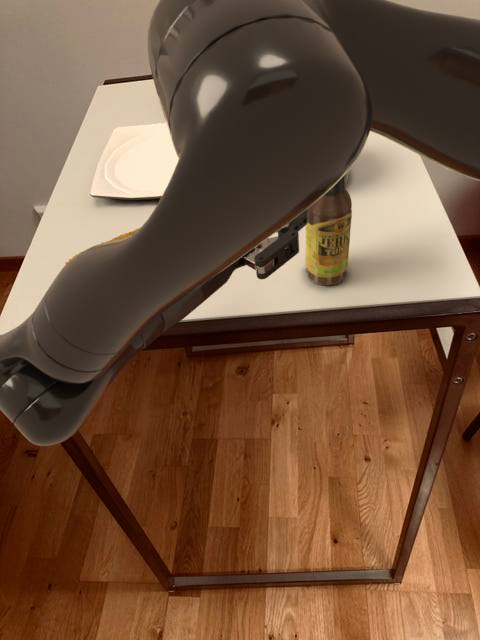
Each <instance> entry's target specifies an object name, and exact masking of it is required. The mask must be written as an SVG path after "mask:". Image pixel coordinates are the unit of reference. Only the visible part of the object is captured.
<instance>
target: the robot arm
mask: <svg viewBox="0 0 480 640" xmlns="http://www.w3.org/2000/svg"><path fill="white" fill-rule="evenodd" d="M147 54H148V62H149V67H150V73H151V76H152V80H153V84H154V88H155V90H156V94H157V96H158V100H159V104H160V108H161V110H162V113H163V116H164V120H165V123H167V126H168V130H169V133H170V136H171V139H172V142H173V146H174V149H175V151H176V154H177V156H178V158H179V160H178V163H177V165H176V168H175V170H174V172H173V175H172V177H171V179H170V181H169V183H168V185H167V187H166V189H165V191H164V193H163V195H162V197H161V198H159V201H158V203H157V204H156V206H155V207H154V209H153V211H152V213H151V214H150V216H149V217H148V219H147V220H146V221H145V222H144V223H143V225H142V226H140V227H141V228H140V227H139V228H140V229H139V228H138V229H139V230H138V231H137V232H135V233H134V234H132V235H130V236H128V237H124V238H121V239H117V240H112V239H111V240H112V241H109V240H107V241H108V242H107V241H104V242H105V243H102V242H101V243H97V244H98V245H97V244H95V245H92V246H93V247H92V246H91V247H89V248H87V249H84V250H83V251H80V252H79V253H80V254H79V253H77V254H78V255H77V254H76V255H77V256H76V257H74V256H73V257H74V258H73V257H72V258H73V259H72V258H71V259H72V260H71V261H70V262H69V263H68V264H67V265H66V264H65V265H66V266H65V265H64V266H65V267H64V266H63V267H64V268H63V267H62V268H61V270H60V271H59V273H58V274H57V275H56V277H55V278H54V279H53V281H52V283H51V284H50V285H49V287H48V289H47V290H46V292H45V293H44V295H43V296H42V298H41V300H40V301H39V303H38V305H37V306H36V307H35V309H34V311H33V312H32V313H31V314H30V315H29V316H28V317H27V318H26V319H25V320H24V321H23V322H22V323H21V324H19V325H18V326H16V327H14V328H12V329H11V330H9V331H7V332H5V333H4V334H2V335H0V411H1V412H2V413H3V414H4V415H5V417H6V418H7V419H8V420H9V421H10V422H11V423H12V424H13V425H14V427H15V428H16V429H17V430H18V431H19V432H20V433H21V435H23V437H24V438H26V440H27V441H29V442H30V443H32V444H33V445H36V446H39V447H52V446H56V445H59V444H62V443H65V442H66V441H67V440H69V439H71V438H72V437H73V436H74V435H76V434H77V433H78V432H79V431H80V429H81V428H82V427H83V426H84V425H85V423H86V422H87V421H88V420H89V418H90V416H91V415H92V414H93V411H94V410H95V409H96V407H97V405H98V404H99V403H100V401H101V399H102V398H103V396H104V395H105V394H106V392H107V390H108V389H109V387H110V386H111V385H112V383H113V382H114V381H115V379H116V378H118V377H117V376H119V374H120V373H121V372H122V371H123V370H124V368H125V367H126V366H128V365H129V363H130V362H132V360H133V359H134V358H135V357H137V355H138V354H140V353H141V352H142V351H143V350H144V349H146V348H147V347H149V345H150V344H151V343H152V342H154V341H155V340H156V339H158V338H159V337H160V336H161V335H162V334H163V333H164V332H166V331H167V330H169V329H170V328H172V327H173V326H175V325H177V324H179V323H180V322H182V321H183V320H184V319H185V318H186V317H188V315H190V314H191V313H192V312H193V311H195V310H196V309H197V308H198V307H200V306H201V305H202V304H203V303H204V302H205V301H206V300H208V299H209V298H210V297H211V296H212V295H214V294H215V293H216V292H217V291H219V290H220V289H221V288H222V287H223V286H225V284H227V283H228V281H229V280H230V278H231V277H232V275H233V274H234V272H235V271H236V270H237V269H239V268H242V267H246V266H247V267H249V268H251V269H252V270H254V271H255V274H256V278H257V279H259V280H266V279H268V278H269V277H270V276H271V275H272V274H274V273H275V272H276V271H278V270H279V269H280V268H281V267H282V266H284V265H285V264H286V263H287V262H289V261H290V260H292V259H293V258H294V257H295V256H296V255H298V254H299V253H300V236H299V235H300V234H299V232H300V231H301V230H302V229H303V228H304V227H306V225H307V223H308V208H309V207H310V206H312V205H313V204H314V203H315V202H317V201H318V200H319V199H320V198H321V197H323V196H324V195H325V194H326V193H327V192H328V191H329V190H330V189H331V188H332V187H334V186H335V185H336V183H337V182H338V181H339V180H340V179H341V178H342V177H343V176H344V175H345V174H346V173H347V172H348V170H349V171H350V169H351V168H352V166H353V165H354V164H355V162H356V161H357V160H358V158H359V157H360V155H361V154H362V152H363V150H364V148H365V145H366V143H367V140H368V138H369V135H370V132H371V133H374V134H377V135H379V136H382V137H384V138H386V139H387V140H389V141H392V142H394V143H396V145H397V144H398V145H400V146H401V147H403V148H405V149H407V150H409V151H411V152H413V153H415V154H417V155H419V156H421V157H422V158H424V159H426V160H428V161H430V162H431V163H434V164H436V165H437V166H439V167H442V168H444V169H445V170H448V171H450V172H453V173H454V174H456V175H459V176H462V177H465V178H468V179H471V180H474V181H477V182H480V19H478V18H472V17H467V16H461V15H454V14H449V13H442V12H436V11H430V10H425V9H420V8H416V7H411V6H408V5H404V4H400V3H398V2H394V1H391V0H159V1H158V3H157V4H156V6H155V9H154V10H153V12H152V15H151V18H150V21H149V25H148V30H147ZM276 233H277V236H273V235H275V234H276ZM272 236H273V237H272Z"/></svg>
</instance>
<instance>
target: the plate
mask: <svg viewBox="0 0 480 640" xmlns="http://www.w3.org/2000/svg"><path fill="white" fill-rule="evenodd" d="M178 160H179V158H178V156H177V154H176V151H175V149H174V146H173V142H172V139H171V136H170V133H169V130H168V126H167V123H166V122H159V123H152V124H151V123H150V124H139V125H129V126H117V127H116V128H114V130H113V131H112V133H111V135H110V137H109V139H108V142H107V143H106V145H105V147H104V149H103V151H102V154H101V156H100V158H99V160H98V163H97V165H96V166H97V167H96V170H95V173H94V175H93V180H92V184H91V187H90V193H89V195H90V196H91V197H92V198H96V199H97V198H99V199H109V200H111V199H112V200H127V201H143V200H156V199H161V197H162V195H163V193H164V191H165V189H166V187H167V185H168V183H169V181H170V179H171V177H172V175H173V172H174V170H175V168H176V165H177V163H178Z"/></svg>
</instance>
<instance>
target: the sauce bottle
mask: <svg viewBox="0 0 480 640" xmlns="http://www.w3.org/2000/svg"><path fill="white" fill-rule="evenodd" d="M344 178H345V175H344V176H343V177H342V178H341V179H340V180H339V181H338V182H337V183H336V185H335V186H334V187H332V188H331V189H330V190H329V191H328V192H327V193H326V194H325V195H324V196H323V197H321V198H320V199H319V200H318V201H317V202H315V203H314V204H313V205H312V206H310V207H309V208H308V223H307V225H306V226H305V267H306V268H305V269H306V270H305V272H306V275H307V278H308V279H309V280H310V281H311V282H313V283H315V284H317V285H321V286H330V285H336V284H339V283H340V282H341V281H342V280H344V278H345V277H346V276H347V268H348V265H349V254H350V243H351V242H350V241H351V227H352V217H353V216H352V215H353V210H352V208H353V207H352V205H353V204H352V202H353V201H352V198H351V195H350V193H349V191H348V190H347V188H346V185H345V179H344Z"/></svg>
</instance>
